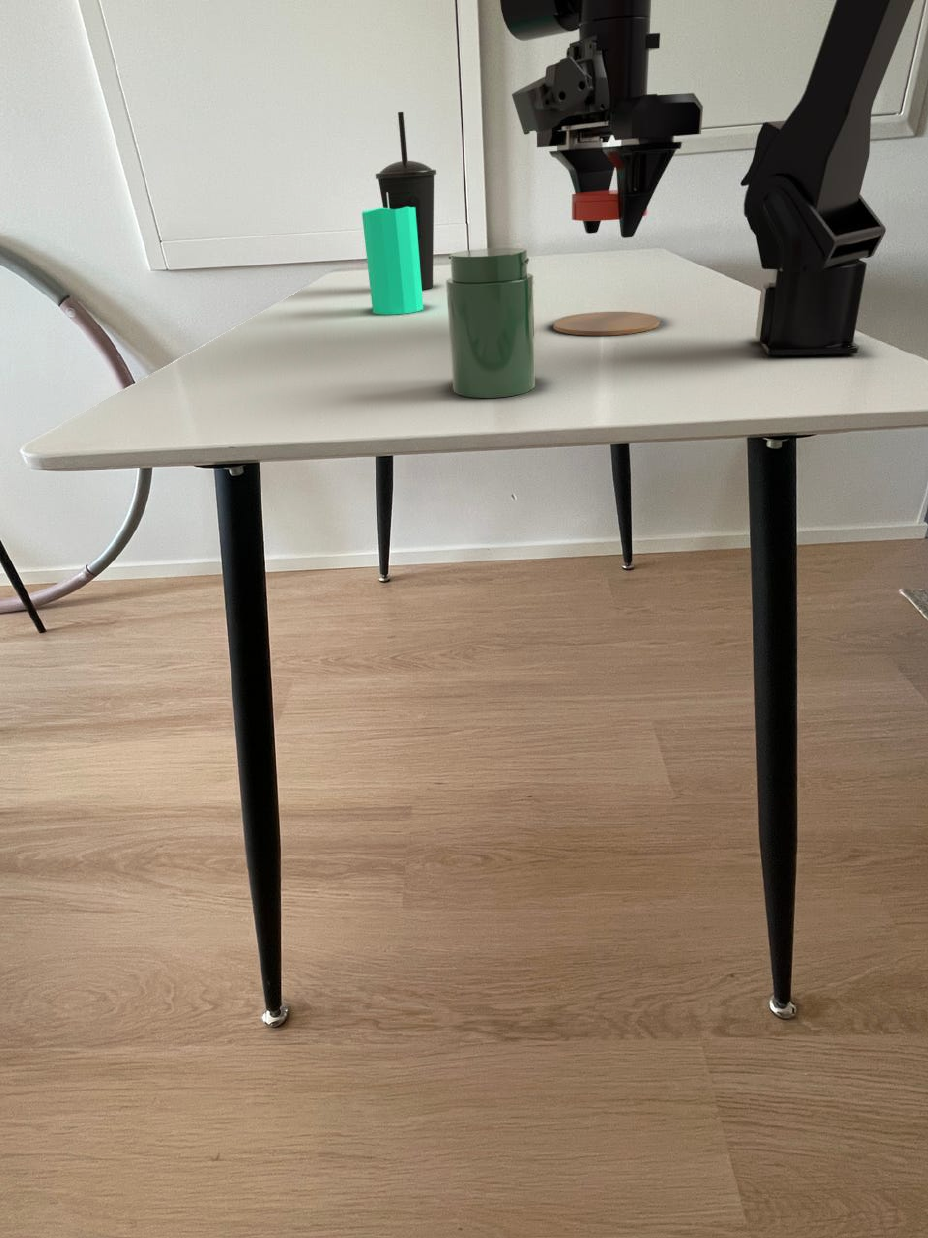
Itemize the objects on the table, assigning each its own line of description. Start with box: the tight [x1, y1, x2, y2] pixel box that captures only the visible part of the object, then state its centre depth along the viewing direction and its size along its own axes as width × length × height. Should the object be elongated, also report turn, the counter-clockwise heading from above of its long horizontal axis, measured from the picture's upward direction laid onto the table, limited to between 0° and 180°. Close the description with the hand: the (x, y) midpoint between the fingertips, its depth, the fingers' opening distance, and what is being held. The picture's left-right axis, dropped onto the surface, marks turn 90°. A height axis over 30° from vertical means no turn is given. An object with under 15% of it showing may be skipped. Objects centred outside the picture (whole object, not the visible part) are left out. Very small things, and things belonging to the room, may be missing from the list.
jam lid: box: [571, 189, 648, 222], centre depth 71 cm, size 7×7×2 cm
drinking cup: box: [375, 111, 437, 291], centre depth 101 cm, size 8×8×20 cm
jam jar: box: [445, 247, 536, 399], centre depth 56 cm, size 6×6×9 cm
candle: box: [361, 192, 424, 316], centre depth 89 cm, size 6×6×12 cm
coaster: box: [553, 311, 660, 337], centre depth 76 cm, size 10×10×1 cm
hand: (608, 235), depth 72 cm, fingers closed on jam lid, 6 cm apart
